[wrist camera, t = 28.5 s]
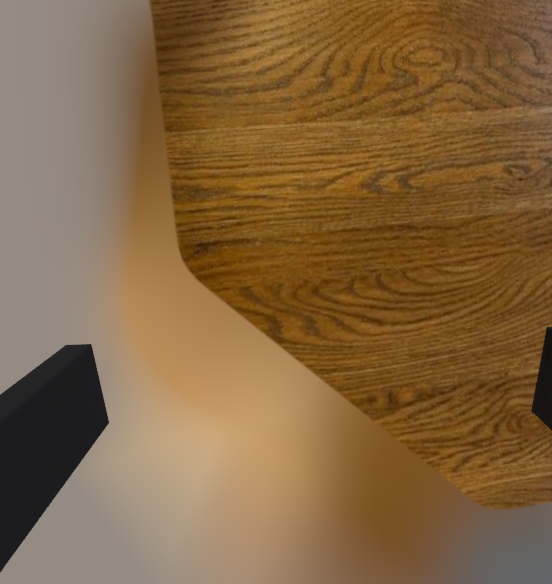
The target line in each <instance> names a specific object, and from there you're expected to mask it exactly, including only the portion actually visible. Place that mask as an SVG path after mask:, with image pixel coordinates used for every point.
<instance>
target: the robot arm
mask: <svg viewBox="0 0 552 584" xmlns="http://www.w3.org/2000/svg"><path fill="white" fill-rule="evenodd" d="M532 412H533V413H534V414H535V415H536V416H537V417H538V418H539V419H540V420H542V421H543V422H544V423H545V424H546V425H547V426H548V427H549V428H550V429H551V430H552V327H547V330H546V335H545V341H544V346H543V351H542V357H541V362H540V368H539V373H538V378H537V384H536V389H535V395H534V400H533V405H532ZM108 423H109V421H108V416H107V412H106V407H105V403H104V398H103V394H102V390H101V386H100V381H99V376H98V372H97V368H96V363H95V359H94V354H93V350H92V346H91V344H85V345H66V346H64V347H63V348H62V349H60V350H59V351H58V352H56V353H55V354H54V355H52V356H51V357H50V358H48V359H47V360H46V361H44V362H43V363H42V364H40V365H39V366H38V367H36V368H35V369H34V370H32V371H31V372H30V373H28V374H27V375H26V376H25V377H23V378H22V379H21V380H19V381H18V382H17V383H16V384H14V385H13V386H11V387H10V388H9V389H7V390H6V391H5V392H3V393H2V394H1V395H0V572H1V571H2V569H3V568H4V566H5V565H6V564H7V562H8V560H10V558H11V557H12V555H13V554H14V552H15V551H16V550H17V548H18V547H19V546H20V544H21V543H22V542H23V540H24V539H25V538H26V536H27V535H28V533H29V532H30V531H31V529H32V528H33V527H34V525H35V524H36V522H37V521H38V520H39V518H40V517H41V516H42V514H43V513H44V511H45V510H46V508H47V507H48V506H49V504H50V503H51V502H52V500H53V499H54V497H55V496H56V495H57V493H58V492H59V491H60V489H61V488H62V487H63V485H64V484H65V483H66V481H67V480H68V478H69V477H70V476H71V474H72V473H73V472H74V470H75V469H76V467H77V466H78V465H79V463H80V462H81V460H82V459H83V458H84V456H85V455H86V454H87V452H88V451H89V450H90V448H91V447H92V445H93V444H94V443H95V441H96V440H97V439H98V437H99V436H100V434H101V433H102V432H103V430H104V429H105V427H106V426H107V425H108Z"/></svg>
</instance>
